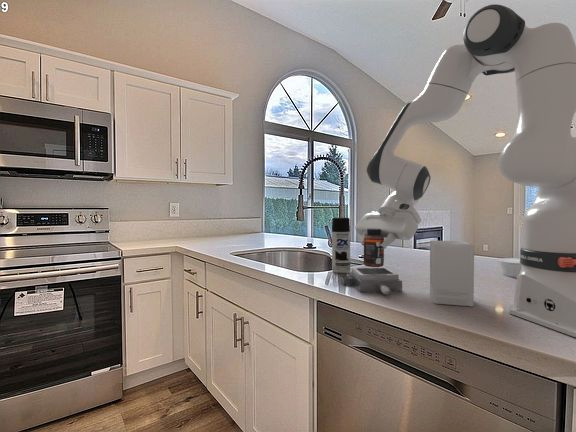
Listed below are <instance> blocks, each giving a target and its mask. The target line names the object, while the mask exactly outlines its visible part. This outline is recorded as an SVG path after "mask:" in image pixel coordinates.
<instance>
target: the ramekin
mask: <svg viewBox="0 0 576 432" xmlns="http://www.w3.org/2000/svg"><path fill="white" fill-rule="evenodd" d="M498 261H499V262H498V263H499V264H500V270H501V274H503V275H504V276H505V277H509V278H515V279H517V276H518V275H519V273H520V271H521V268H522V264H521V263H520V257H519V258H517V257H504V258H503V257H502V258H499V260H498Z"/></svg>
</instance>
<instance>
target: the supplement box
mask: <svg viewBox="0 0 576 432" xmlns="http://www.w3.org/2000/svg"><path fill="white" fill-rule="evenodd" d="M474 278H475V245H474V244H472V243H470V242H468V241H465V240H436V239H434V240H430V241H429V296H430V298H431V300H432V302H433V304H436V305H437V304H439V305H446V306H447V305H451V306H461V307H462V306H463V307H471V308H472V307H474V303H475V301H474V293H475V292H474V291H475V287H474V286H475V285H474V284H475V283H474V282H475V281H474V280H475V279H474Z"/></svg>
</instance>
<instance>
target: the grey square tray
mask: <svg viewBox="0 0 576 432" xmlns="http://www.w3.org/2000/svg"><path fill="white" fill-rule="evenodd" d="M340 279H341V280H340V282H341V284H342V286H354V287H355V289H356V290H357V291H358V292H359V293H382V294H383V295H385V296H388V295H390V294H391V293H395V292H399V293H401V292H403V280H401V279H400V278H399V273H397V272H395V271H393V270H391V269H390V268H388V267H385V266H384V267H383V266H382V267H351V270H350V272H349V273H348V275H341V278H340Z"/></svg>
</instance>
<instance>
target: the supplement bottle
mask: <svg viewBox="0 0 576 432" xmlns="http://www.w3.org/2000/svg"><path fill="white" fill-rule="evenodd" d="M367 233H368V234H367V235H366V236H365V237H364V246H363V265H364V266H365V267H367V268H373V267H383V266H384V263H385V249H384V248H381V247H380V246H379V243H380V242H381V240H383V241H384V240H385V238H384V237H383V236H382V235H381V229H378V228H368V229H367Z"/></svg>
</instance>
